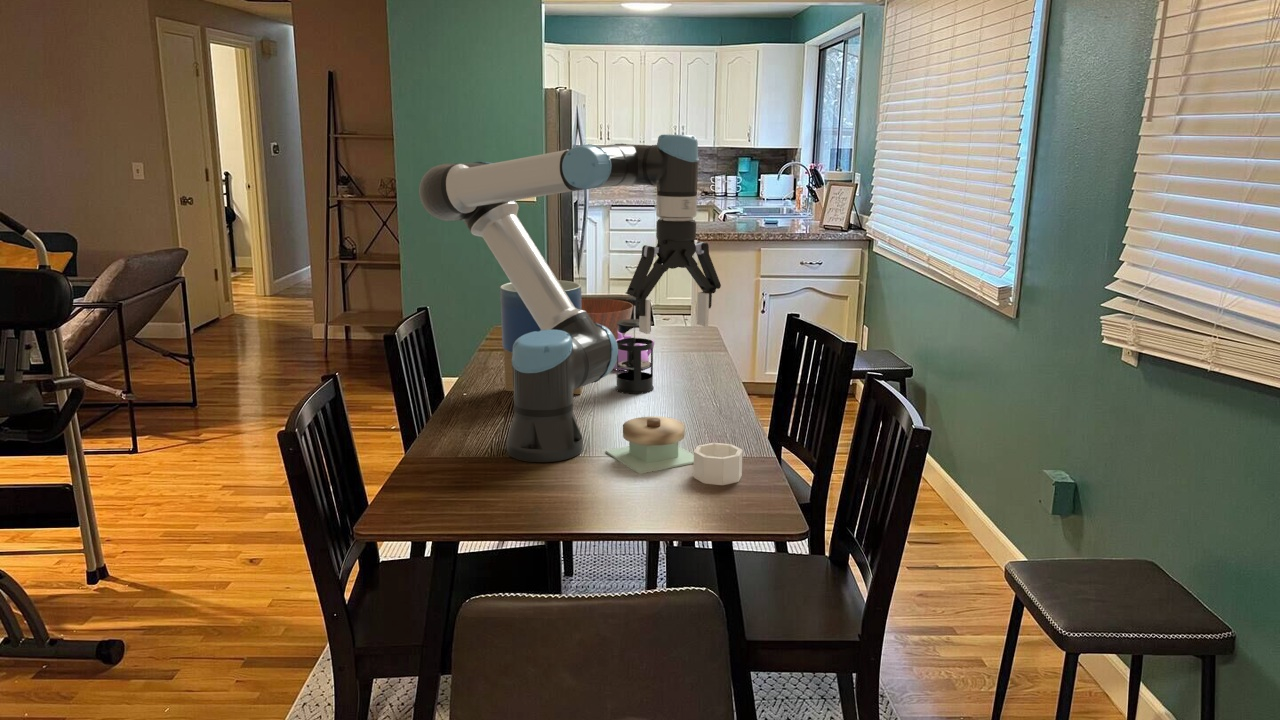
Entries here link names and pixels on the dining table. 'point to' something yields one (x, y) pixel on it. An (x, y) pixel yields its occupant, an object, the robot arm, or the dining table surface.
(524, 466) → the dining table surface
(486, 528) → the dining table surface
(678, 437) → the lid
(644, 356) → the teapot
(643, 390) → the french press
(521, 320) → the planter
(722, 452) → the ramekin
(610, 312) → the bowl
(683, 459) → the mat stand
